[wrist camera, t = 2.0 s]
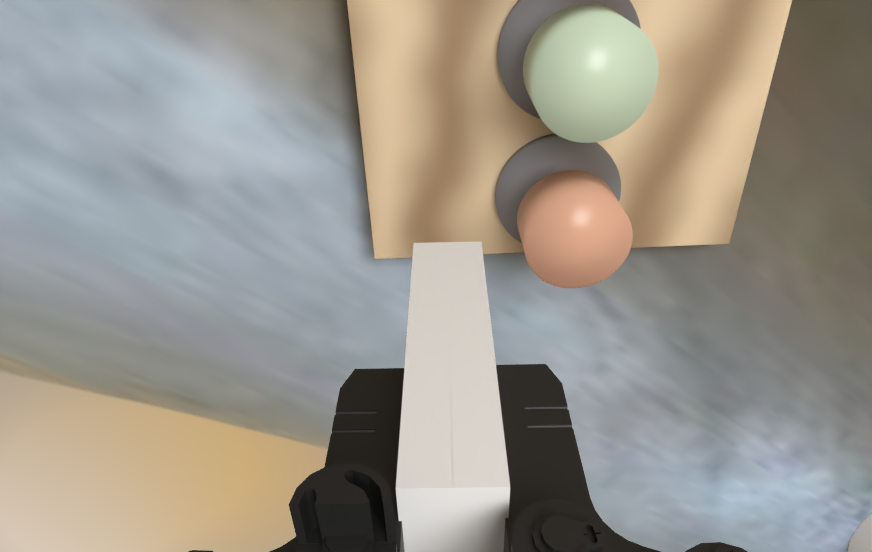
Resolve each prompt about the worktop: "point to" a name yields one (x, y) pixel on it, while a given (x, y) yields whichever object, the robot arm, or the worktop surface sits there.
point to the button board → (532, 140)
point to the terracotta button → (573, 229)
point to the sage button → (590, 73)
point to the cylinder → (862, 537)
